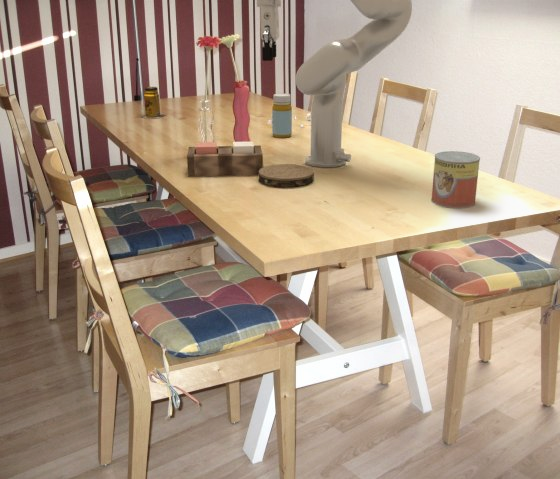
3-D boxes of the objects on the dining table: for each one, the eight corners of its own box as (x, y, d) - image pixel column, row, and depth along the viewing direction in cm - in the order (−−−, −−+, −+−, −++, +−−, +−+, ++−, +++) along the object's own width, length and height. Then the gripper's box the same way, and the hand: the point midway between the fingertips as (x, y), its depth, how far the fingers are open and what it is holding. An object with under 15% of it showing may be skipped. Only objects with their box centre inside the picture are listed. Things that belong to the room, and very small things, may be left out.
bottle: (292, 134, 257) (292, 93, 251) (290, 138, 250) (290, 96, 245) (273, 134, 257) (273, 93, 252) (271, 138, 251) (271, 96, 245)
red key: (216, 158, 212) (216, 142, 210) (216, 163, 206) (216, 146, 204) (197, 158, 211) (196, 142, 210) (196, 163, 206) (195, 147, 204)
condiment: (141, 117, 286) (139, 88, 282) (151, 114, 294) (149, 85, 290) (157, 118, 284) (155, 89, 280) (167, 115, 292) (165, 86, 287)
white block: (253, 157, 213) (252, 141, 211) (253, 162, 207) (253, 146, 205) (233, 157, 212) (232, 141, 210) (233, 162, 207) (233, 146, 205)
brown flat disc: (283, 170, 211) (283, 161, 210) (324, 180, 201) (325, 170, 200) (247, 182, 200) (246, 171, 199) (289, 192, 190) (289, 182, 189)
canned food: (422, 201, 182) (426, 156, 178) (446, 192, 189) (450, 149, 185) (460, 211, 174) (464, 164, 170) (483, 201, 182) (488, 156, 177)
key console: (260, 164, 217) (260, 145, 214) (262, 174, 205) (262, 155, 203) (189, 165, 215) (188, 146, 213) (188, 176, 204) (187, 156, 202)
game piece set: (302, 118, 288) (302, 108, 286) (325, 127, 271) (325, 117, 269) (259, 122, 280) (259, 112, 279) (280, 131, 263) (280, 121, 262)
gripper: (277, 2, 206) (278, 62, 212) (283, 0, 222) (284, 56, 228) (252, 2, 206) (254, 62, 212) (260, 1, 222) (261, 56, 228)
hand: (269, 58), depth 220 cm, fingers open, 9 cm apart
